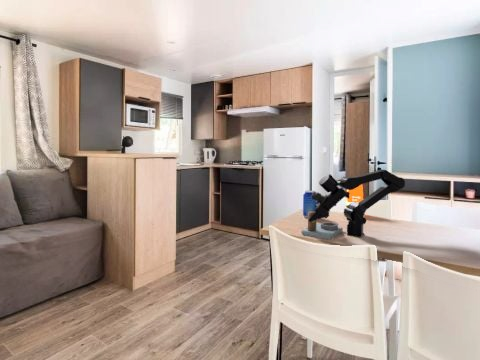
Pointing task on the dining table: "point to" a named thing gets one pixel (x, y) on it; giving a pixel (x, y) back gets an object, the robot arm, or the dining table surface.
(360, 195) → the orange juice
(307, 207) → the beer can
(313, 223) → the walnut peg
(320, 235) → the slate board
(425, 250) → the dining table surface
